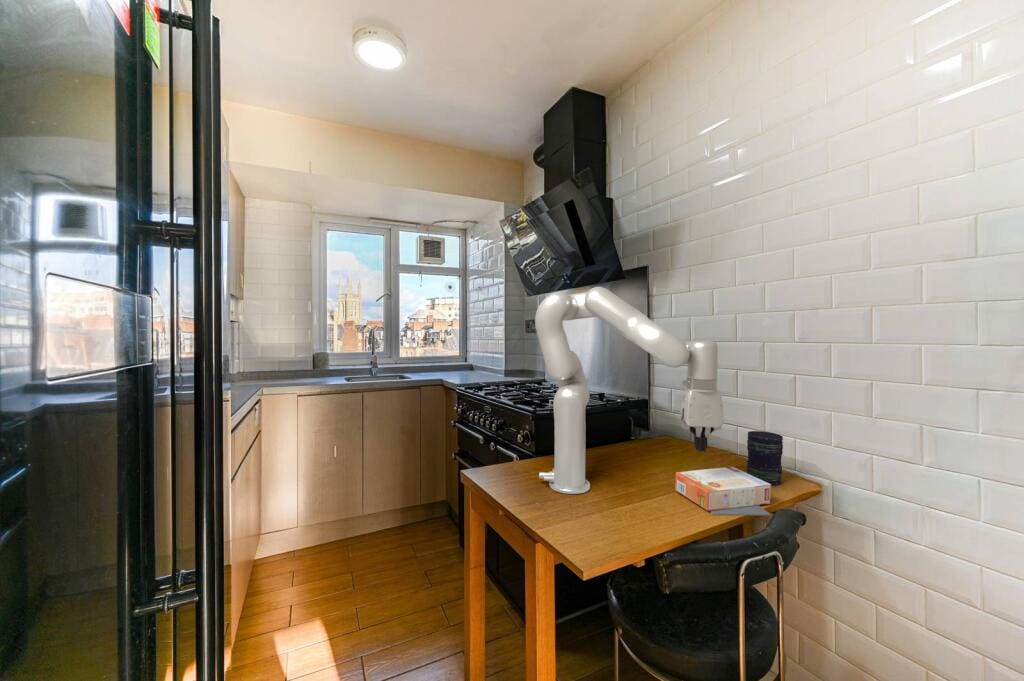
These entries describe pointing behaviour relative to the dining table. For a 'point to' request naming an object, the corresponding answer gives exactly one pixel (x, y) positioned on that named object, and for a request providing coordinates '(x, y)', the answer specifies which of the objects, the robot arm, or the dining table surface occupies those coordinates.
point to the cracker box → (722, 488)
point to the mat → (742, 511)
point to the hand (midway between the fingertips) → (700, 450)
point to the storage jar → (765, 456)
